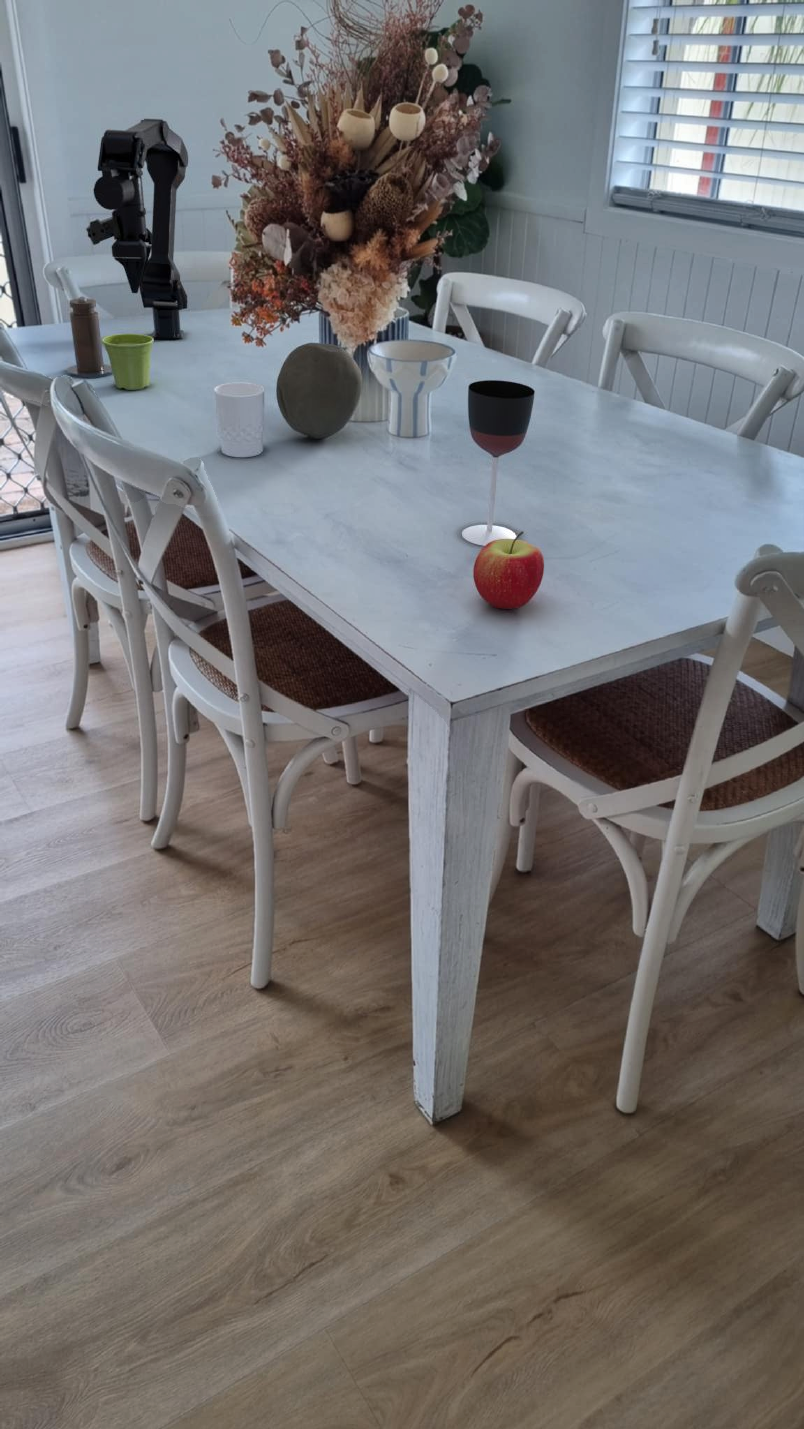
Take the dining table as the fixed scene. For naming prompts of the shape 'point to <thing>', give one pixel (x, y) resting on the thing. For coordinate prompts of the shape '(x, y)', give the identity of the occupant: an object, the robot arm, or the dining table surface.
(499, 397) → the wineglass
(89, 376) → the coaster
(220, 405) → the white cup
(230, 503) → the dining table surface
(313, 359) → the smooth river stone
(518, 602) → the apple
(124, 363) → the plant pot
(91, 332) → the pepper mill
